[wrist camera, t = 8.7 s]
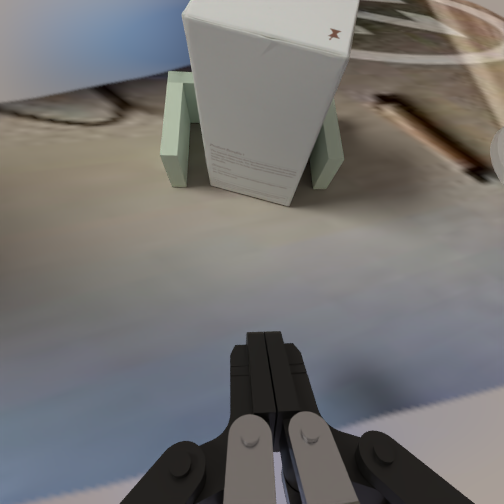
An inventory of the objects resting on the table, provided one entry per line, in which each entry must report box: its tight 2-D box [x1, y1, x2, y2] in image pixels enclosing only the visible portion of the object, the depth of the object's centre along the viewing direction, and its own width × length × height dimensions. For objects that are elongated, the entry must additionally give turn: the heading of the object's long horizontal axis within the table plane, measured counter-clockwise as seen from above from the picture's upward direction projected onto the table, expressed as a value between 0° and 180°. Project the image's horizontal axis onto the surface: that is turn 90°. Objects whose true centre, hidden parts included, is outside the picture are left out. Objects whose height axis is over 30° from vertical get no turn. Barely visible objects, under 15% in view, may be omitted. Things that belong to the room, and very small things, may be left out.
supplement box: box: [182, 0, 360, 206], centre depth 18 cm, size 7×7×13 cm
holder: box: [160, 71, 344, 189], centre depth 22 cm, size 8×13×4 cm, turn 92°
